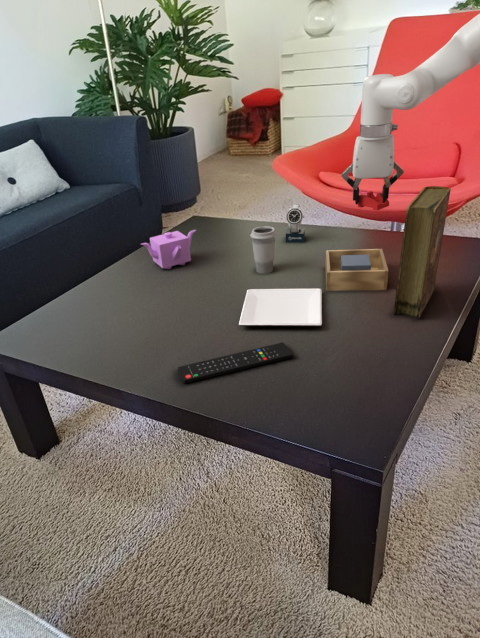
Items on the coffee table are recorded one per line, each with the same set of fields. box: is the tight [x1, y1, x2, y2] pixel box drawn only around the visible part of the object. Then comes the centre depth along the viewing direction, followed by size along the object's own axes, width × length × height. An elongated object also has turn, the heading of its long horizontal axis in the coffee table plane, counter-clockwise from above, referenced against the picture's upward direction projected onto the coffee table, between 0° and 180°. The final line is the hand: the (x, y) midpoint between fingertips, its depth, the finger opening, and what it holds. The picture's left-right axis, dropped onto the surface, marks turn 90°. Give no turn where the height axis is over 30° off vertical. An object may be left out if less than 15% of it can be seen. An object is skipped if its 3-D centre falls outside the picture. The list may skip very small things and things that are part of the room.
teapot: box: [140, 229, 197, 270], centre depth 156 cm, size 18×13×10 cm
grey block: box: [340, 255, 371, 271], centre depth 136 cm, size 7×7×5 cm
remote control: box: [177, 341, 294, 384], centre depth 109 cm, size 5×24×1 cm, turn 106°
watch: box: [285, 204, 306, 244], centre depth 162 cm, size 6×8×11 cm
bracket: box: [357, 190, 390, 211], centre depth 141 cm, size 6×5×3 cm
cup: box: [249, 225, 277, 275], centre depth 145 cm, size 7×7×12 cm
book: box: [393, 185, 452, 320], centre depth 117 cm, size 16×6×25 cm, turn 148°
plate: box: [238, 288, 323, 327], centre depth 126 cm, size 19×19×2 cm
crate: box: [324, 248, 390, 292], centre depth 136 cm, size 15×15×6 cm
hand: (370, 201), depth 142 cm, fingers closed on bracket, 6 cm apart
